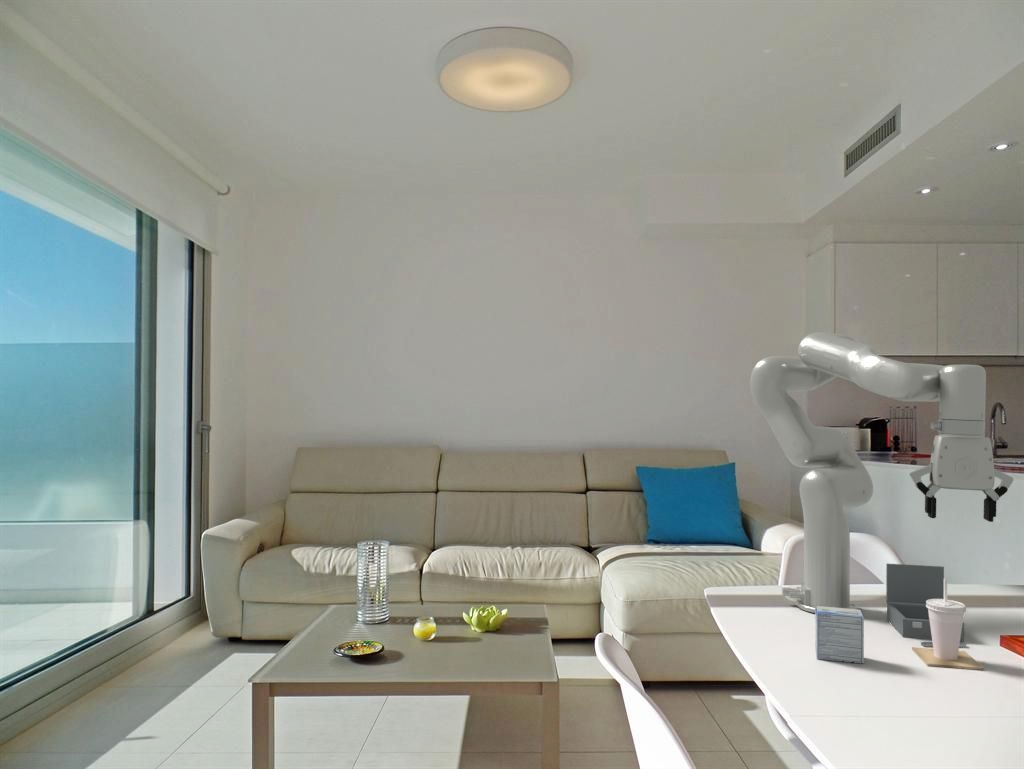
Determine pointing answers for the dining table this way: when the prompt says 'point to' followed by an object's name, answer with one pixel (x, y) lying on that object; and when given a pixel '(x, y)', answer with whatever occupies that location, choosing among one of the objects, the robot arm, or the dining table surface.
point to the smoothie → (945, 625)
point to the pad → (961, 662)
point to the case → (913, 597)
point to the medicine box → (839, 634)
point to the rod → (930, 644)
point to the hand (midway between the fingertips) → (959, 518)
